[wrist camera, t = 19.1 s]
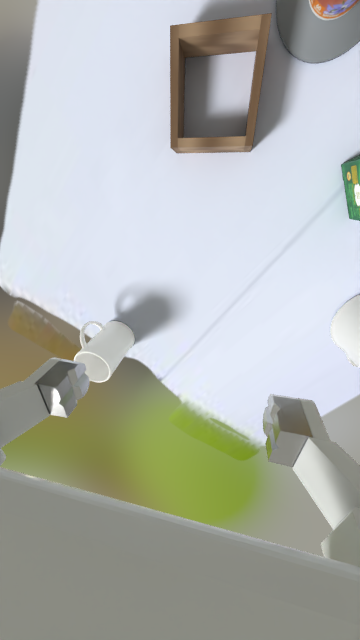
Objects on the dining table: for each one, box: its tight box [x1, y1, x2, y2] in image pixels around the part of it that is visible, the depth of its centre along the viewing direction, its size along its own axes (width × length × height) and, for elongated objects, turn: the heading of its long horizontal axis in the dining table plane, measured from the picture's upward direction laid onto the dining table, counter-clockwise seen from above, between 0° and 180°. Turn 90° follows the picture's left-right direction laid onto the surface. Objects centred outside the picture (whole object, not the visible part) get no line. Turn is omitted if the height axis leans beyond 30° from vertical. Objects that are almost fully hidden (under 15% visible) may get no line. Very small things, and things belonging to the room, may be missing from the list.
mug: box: [74, 321, 135, 382], centre depth 48 cm, size 12×8×12 cm
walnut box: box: [170, 13, 272, 153], centre depth 28 cm, size 11×11×4 cm
